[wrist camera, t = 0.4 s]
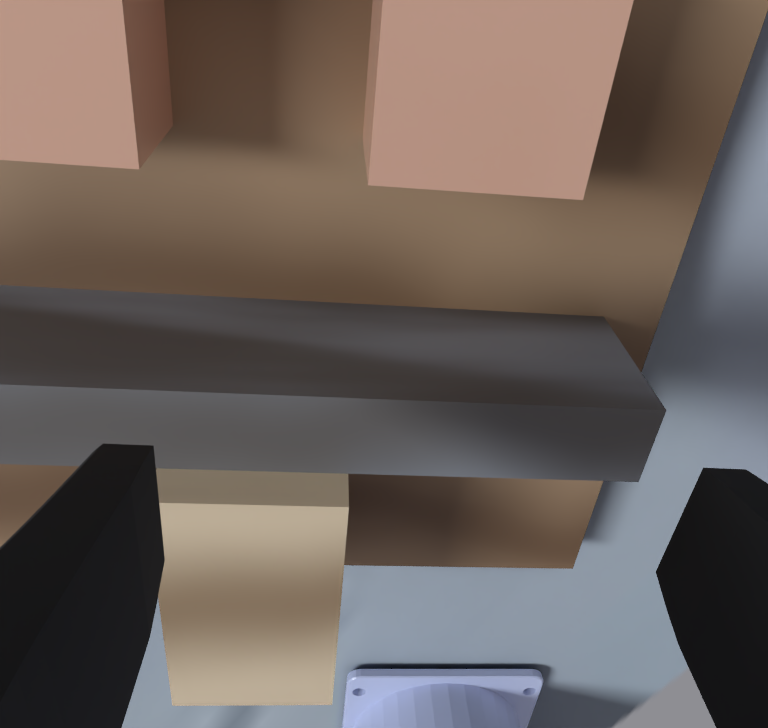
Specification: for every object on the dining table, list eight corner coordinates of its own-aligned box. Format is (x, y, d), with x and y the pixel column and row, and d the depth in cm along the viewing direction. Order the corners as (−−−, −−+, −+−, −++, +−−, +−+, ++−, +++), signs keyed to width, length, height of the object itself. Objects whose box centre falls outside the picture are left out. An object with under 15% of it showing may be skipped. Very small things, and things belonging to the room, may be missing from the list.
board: (560, 534, 24) (572, 568, 23) (-41, 522, 22) (-63, 558, 21) (754, -68, 15) (794, -66, 13) (-280, -183, 13) (-347, -194, 11)
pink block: (542, 152, 15) (582, 200, 13) (362, 139, 15) (367, 185, 12) (586, -57, 13) (646, -50, 11) (378, -80, 13) (388, -78, 10)
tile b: (173, 125, 15) (139, 169, 12) (-27, 109, 14) (-106, 152, 12) (156, -103, 12) (111, -108, 10) (-80, -129, 12) (-190, -140, 10)
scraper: (531, 557, 23) (576, 703, 18) (-15, 548, 21) (-103, 707, 17) (603, 316, 18) (686, 441, 14) (-101, 280, 16) (-254, 408, 12)
